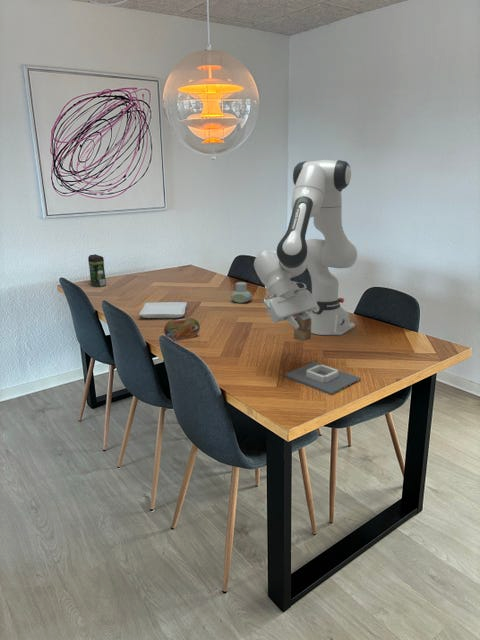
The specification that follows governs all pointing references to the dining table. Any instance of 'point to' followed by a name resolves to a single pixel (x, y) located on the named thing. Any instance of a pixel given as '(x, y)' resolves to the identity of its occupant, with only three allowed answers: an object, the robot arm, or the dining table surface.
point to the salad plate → (163, 310)
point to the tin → (181, 329)
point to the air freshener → (241, 293)
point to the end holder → (322, 377)
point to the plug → (303, 328)
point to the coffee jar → (97, 270)
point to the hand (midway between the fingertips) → (304, 326)
